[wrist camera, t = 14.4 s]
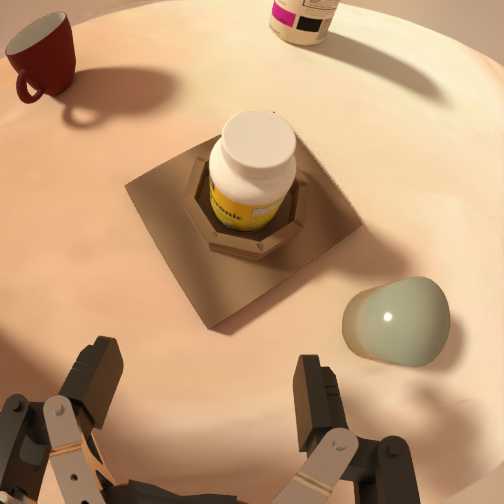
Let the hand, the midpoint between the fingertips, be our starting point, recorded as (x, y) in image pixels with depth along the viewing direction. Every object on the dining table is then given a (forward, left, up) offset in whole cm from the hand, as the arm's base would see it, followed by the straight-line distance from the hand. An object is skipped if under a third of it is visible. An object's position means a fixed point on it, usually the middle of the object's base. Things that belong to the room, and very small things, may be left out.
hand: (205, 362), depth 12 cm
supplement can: (+31, +28, -11) cm, 43 cm away
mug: (-2, +35, -11) cm, 37 cm away
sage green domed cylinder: (+13, -7, -11) cm, 18 cm away
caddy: (+9, +8, -11) cm, 16 cm away
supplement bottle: (+8, +8, -10) cm, 15 cm away
